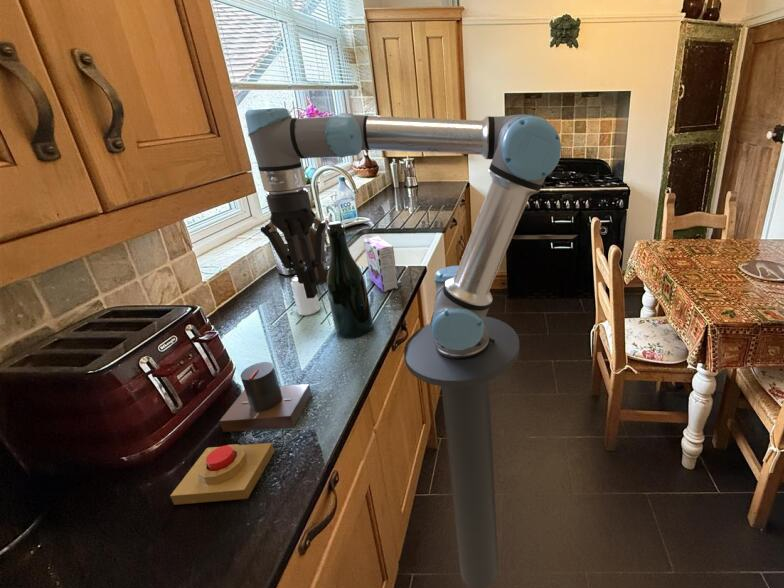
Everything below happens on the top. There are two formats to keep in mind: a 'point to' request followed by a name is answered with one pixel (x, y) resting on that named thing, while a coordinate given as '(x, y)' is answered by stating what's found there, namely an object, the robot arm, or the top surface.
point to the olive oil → (322, 268)
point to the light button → (220, 458)
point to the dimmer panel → (267, 411)
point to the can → (303, 299)
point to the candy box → (381, 263)
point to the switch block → (224, 476)
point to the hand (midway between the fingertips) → (312, 295)
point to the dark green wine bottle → (346, 287)
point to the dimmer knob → (261, 386)
